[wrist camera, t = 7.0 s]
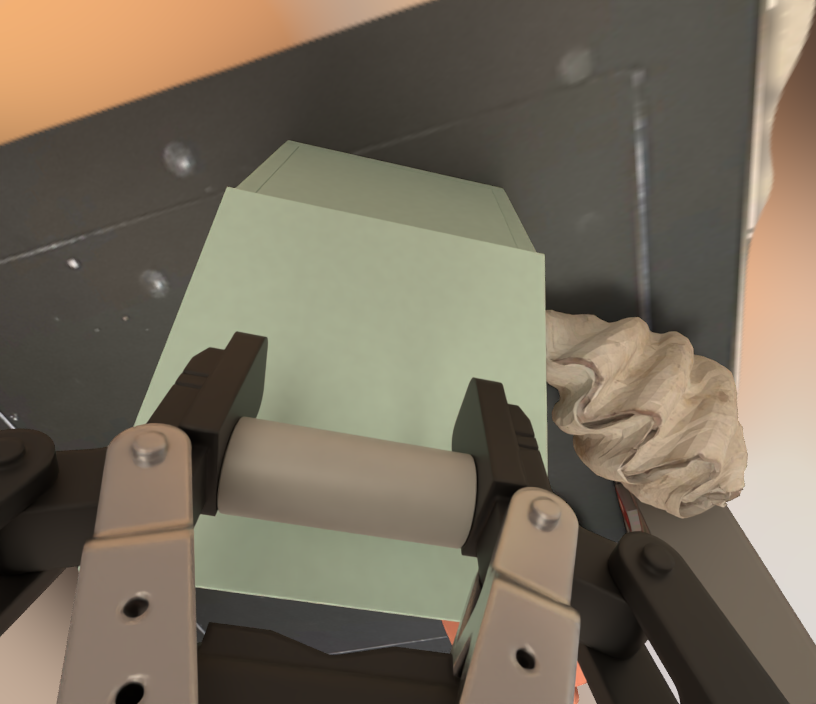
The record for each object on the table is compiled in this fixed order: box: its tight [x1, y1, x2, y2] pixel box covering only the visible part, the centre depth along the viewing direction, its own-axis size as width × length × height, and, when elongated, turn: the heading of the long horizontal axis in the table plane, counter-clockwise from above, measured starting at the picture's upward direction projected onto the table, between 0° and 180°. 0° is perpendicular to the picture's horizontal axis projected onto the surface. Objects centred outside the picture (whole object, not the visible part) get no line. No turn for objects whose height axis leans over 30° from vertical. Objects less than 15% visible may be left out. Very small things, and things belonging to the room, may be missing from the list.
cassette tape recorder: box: [615, 481, 816, 704], centre depth 32 cm, size 14×6×25 cm, turn 21°
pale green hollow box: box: [236, 140, 536, 252], centre depth 27 cm, size 12×12×10 cm
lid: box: [78, 187, 548, 622], centre depth 14 cm, size 13×12×5 cm
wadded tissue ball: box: [545, 310, 748, 518], centre depth 31 cm, size 10×15×10 cm
